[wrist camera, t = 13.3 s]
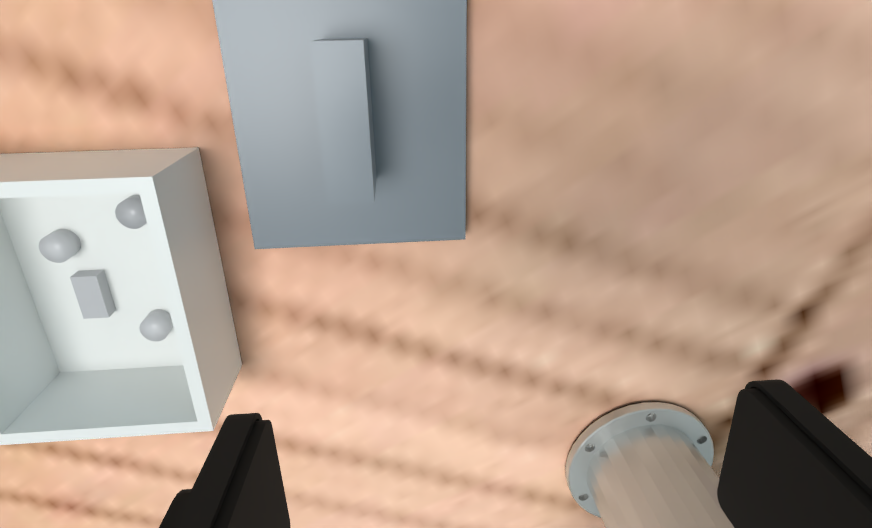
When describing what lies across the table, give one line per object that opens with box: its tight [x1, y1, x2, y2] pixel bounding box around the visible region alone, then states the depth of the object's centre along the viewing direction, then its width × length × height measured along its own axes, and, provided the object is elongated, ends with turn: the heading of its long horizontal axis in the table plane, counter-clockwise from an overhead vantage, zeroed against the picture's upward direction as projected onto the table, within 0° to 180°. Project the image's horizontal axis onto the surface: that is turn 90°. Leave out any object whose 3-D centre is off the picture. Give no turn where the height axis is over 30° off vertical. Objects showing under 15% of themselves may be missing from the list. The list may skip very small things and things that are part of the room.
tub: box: [0, 147, 242, 445], centre depth 32 cm, size 16×13×7 cm
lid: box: [212, 0, 467, 249], centre depth 30 cm, size 17×14×7 cm
